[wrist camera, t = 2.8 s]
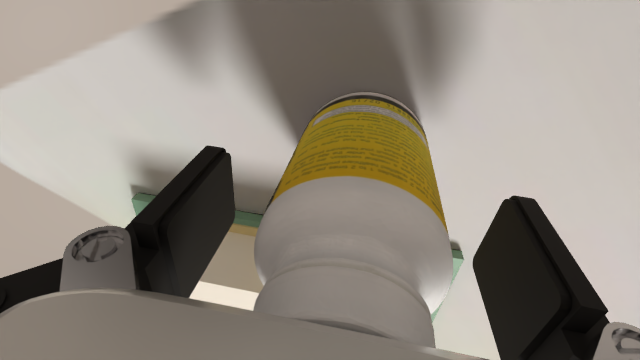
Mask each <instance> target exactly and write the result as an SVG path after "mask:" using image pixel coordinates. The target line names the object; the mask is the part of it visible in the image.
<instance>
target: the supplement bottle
mask: <svg viewBox="0 0 640 360" xmlns="http://www.w3.org/2000/svg"><path fill="white" fill-rule="evenodd" d="M254 261H255V265H256V269H257V273H258V275H259V278H260V280H261V282H262V284H263V286H264V287H263V289H262V290H261V291H260V293H259V295H258V297H257V299H256V301H255V305H254V309H253V311H257V312H262V313H267V314H272V315H277V316H282V317H287V318H292V319H296V320H301V321H306V322H311V323H316V324H321V325H326V326H331V327H335V328H340V329H345V330H350V331H355V332H360V333H365V334H369V335H374V336H379V337H384V338H389V339H393V340H398V341H403V342H408V343H413V344H417V345H422V346H427V347H432V348H436V347H435V339H434V331H433V326H432V318H431V314H432V313H433V312H434V311H435V310H436V309H437V308H438V307H439V305H440V304H441V303H442V301H443V300H444V298H445V296H446V294H447V292H448V290H449V288H450V285H451V281H452V276H453V256H452V250H451V245H450V240H449V235H448V231H447V226H446V222H445V217H444V213H443V209H442V205H441V200H440V196H439V191H438V187H437V183H436V178H435V173H434V169H433V165H432V160H431V156H430V151H429V147H428V142H427V139H426V135H425V132H424V130H423V127H422V125H421V123H420V122H419V120H418V119H417V117H416V116H415V115H414V113H413V112H412V111H411V110H410V109H409V108H408V107H406V106H405V105H404V104H402V103H401V102H399V101H397V100H396V99H394V98H391V97H389V96H386V95H383V94H378V93H373V92H357V93H351V94H347V95H344V96H341V97H338V98H336V99H334V100H332V101H330V102H329V103H327V104H326V105H324V106H323V107H322V108H321V109H319V110H318V111H317V112H316V114H315V115H314V116H313V117H312V119H311V120H310V122H309V123H308V125H307V127H306V129H305V131H304V133H303V135H302V137H301V139H300V141H299V143H298V145H297V147H296V149H295V151H294V153H293V156H292V158H291V160H290V162H289V164H288V166H287V168H286V170H285V172H284V174H283V176H282V178H281V180H280V182H279V184H278V186H277V188H276V190H275V192H274V195H273V196H272V198H271V200H270V202H269V204H268V206H267V208H266V211H265V213H264V216H263V218H262V220H261V223H260V225H259V228H258V230H257V233H256V237H255V243H254Z"/></svg>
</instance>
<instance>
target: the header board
mask: <svg viewBox="0 0 640 360" xmlns="http://www.w3.org/2000/svg"><path fill="white" fill-rule="evenodd" d="M155 197H156V196H153V195H147V194H142V193H138V194H136V195H135V196H134V197H133V198H132V203H133V206H134V209H135V212H136V216H137V215H138V214H139V213H140V212H141V211H142V210H143V209H144V208H145V207H146V206H147V205H148V204H149V203H150V202H151V201H152V200H153V199H154V198H155ZM263 216H264V215H258V214H253V213H247V212H242V211H236V210H235V219H234V222H233V224H232V226H231V227H230V229H229V231H228V233H227V234H226V236H225V238H224V239H223V241H222V243H221V244H220V246H219V248H218V250H217V251H216V253H215V255H214V256H213V258H212V260H211V261H210V263H209V265H208V267H207V268H206V270H205V272H204V273H203V275H202V277H201V278H200V280H199V282H198V284H197V285H196V287H195V289H194V290H193V292H192V294H191V295H190V297H189V298H190V299H195V300H201V301H206V302H212V303H217V304H222V305H227V306H232V307H237V308H242V309H247V310H252V311H253V309H254V305H255V301H256V299H257V297H258V295H259V293H260V291H261V290H262V289H263V287H264V286H263V284H262V282H261V280H260V278H259V275H258V273H257V269H256V265H255V261H254V243H255V237H256V233H257V230H258V228H259V225H260V223H261V220H262V218H263ZM451 250H452V256H453V276H452V281H451V284H452V282H453V280H454V278H455V276H456V274H457V272H458V270H459V268H460V266H461V264H462V262H463V260H464V258H463V255H462V251H458V250H453V249H451ZM450 286H451V285H450ZM442 302H443V301H442ZM441 304H442V303H441ZM441 304H440V305H439V307H438V308H437V309H436V310H435V311H434V312H433V313H432V314H431V318H432V322H433V320H434V318H435V316H436V314H437V312H438V310H439V308H440V306H441Z"/></svg>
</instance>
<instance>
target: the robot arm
mask: <svg viewBox="0 0 640 360" xmlns="http://www.w3.org/2000/svg"><path fill="white" fill-rule="evenodd" d="M234 219H235V204H234V191H233V179H232V166H231V156H230V154H229V153H226V150H225V149H224V148H220V147H214V146H206V147H205V148H204V149H203V150H202V151H201V152H200V153H199V154H198V155H197V156H196V157H195V158H194V159H193V160H192V161H191V162H190V163H189V164H188V165H187V166H186V167H185V168H184V169H183V170H182V171H181V172H180V173H179V174H178V175H177V176H176V177H175V178H174V179H173V180H172V181H171V182H170V183H169V184H168V185H167V186H166V187H165V188H164V189H163V190H162V191H161V192H160V193H159V194H158V195H157V196H156V197H155V198H154V199H153V200H152V201H151V202H150V203H149V204H148V205H147V206H146V207H145V208H144V209H143V210H142V211H141V212H140V213H139V214H138V215H137V216H136V217H135V218H134V219H133V220H132V221H131V223H130V224H129V225H128V226H127V227H126V228H125V229H124V228H121V227H117V226H104V227H98V228H95V229H92V230H88V231H86V232H85V233H82V234H81V235H79V236H77V237H76V238H75V239H74V240H72V241H71V242H70V243H69V244H68V246H67V247H66V249H65V252H64V255H63V258H62V259H59V260H56V261H53V262H49V263H46V264H43V265H41V266H37V267H34V268H31V269H28V270H25V271H22V272H18V273H15V274H12V275H9V276H6V277H3V278H0V360H488V359H483V358H479V357H474V356H469V355H465V354H460V353H455V352H450V351H446V350H441V349H436V348H432V347H427V346H422V345H417V344H413V343H408V342H403V341H398V340H393V339H389V338H384V337H379V336H374V335H369V334H365V333H360V332H355V331H350V330H345V329H340V328H335V327H331V326H326V325H321V324H316V323H311V322H306V321H301V320H296V319H292V318H287V317H282V316H277V315H272V314H267V313H262V312H257V311H252V310H247V309H242V308H237V307H232V306H227V305H222V304H217V303H212V302H206V301H201V300H195V299H190V298H189V297H190V295H191V294H192V292H193V290H194V289H195V287H196V285H197V284H198V282H199V280H200V278H201V277H202V275H203V273H204V272H205V270H206V268H207V267H208V265H209V263H210V261H211V260H212V258H213V256H214V255H215V253H216V251H217V250H218V248H219V246H220V244H221V243H222V241H223V239H224V238H225V236H226V234H227V233H228V231H229V229H230V227H231V226H232V224H233V222H234ZM473 269H474V272H475V276H476V279H477V282H478V286H479V289H480V292H481V296H482V299H483V302H484V305H485V309H486V312H487V315H488V319H489V322H490V325H491V329H492V332H493V335H494V339H495V342H496V345H497V349H498V352H499V355H500V359H501V360H640V329H639V328H637V327H635V326H632V325H629V324H626V323H620V322H613V323H610V322H609V321H608V319H607V318H606V316H605V314H606V313H607V312H608V310H607V308H606V307H605V305H604V303H603V302H602V300H601V299H600V297H599V296H598V294H597V293H596V291H595V290H594V288H593V287H592V285H591V284H590V282H589V281H588V279H587V278H586V276H585V275H584V273H583V272H582V270H581V269H580V267H579V266H578V264H577V262H576V261H575V259H574V258H573V256H572V255H571V253H570V252H569V250H568V249H567V247H566V246H565V244H564V243H563V241H562V240H561V238H560V237H559V235H558V234H557V232H556V231H555V229H554V228H553V226H552V225H551V223H550V221H549V220H548V218H547V217H546V215H545V214H544V212H543V211H542V209H541V208H540V206H539V205H538V203H537V202H536V201H535V200H534V199H532V198H526V197H520V196H512V197H511V198H510V199H505V200H504V201H503V202H502V204H501V206H500V208H499V210H498V212H497V214H496V216H495V217H494V219H493V221H492V223H491V225H490V227H489V229H488V231H487V233H486V235H485V237H484V238H483V240H482V242H481V244H480V246H479V248H478V250H477V252H476V254H475V256H474V258H473Z"/></svg>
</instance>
